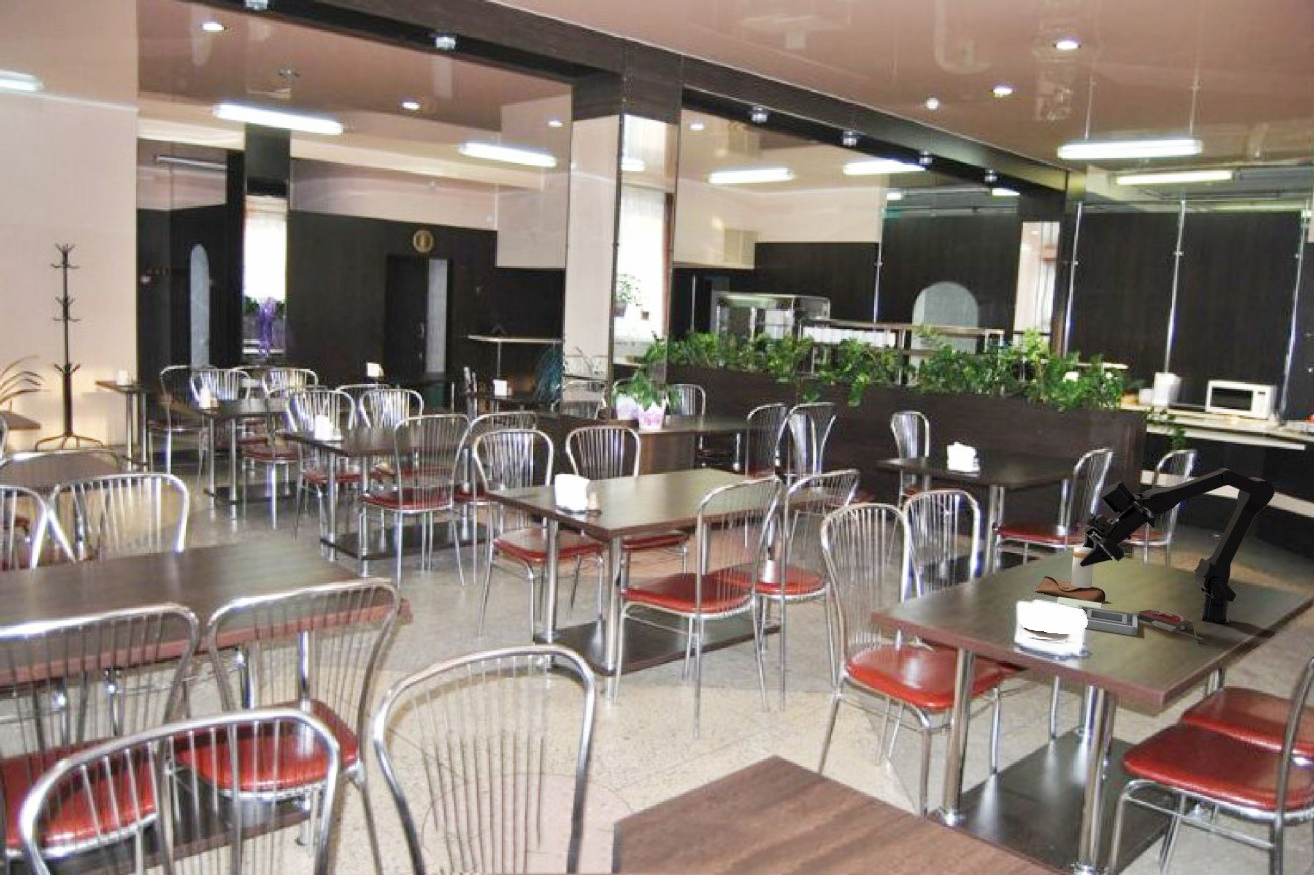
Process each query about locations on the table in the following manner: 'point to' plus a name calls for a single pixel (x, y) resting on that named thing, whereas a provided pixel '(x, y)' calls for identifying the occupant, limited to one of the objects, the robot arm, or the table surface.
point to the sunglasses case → (1069, 590)
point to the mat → (1077, 602)
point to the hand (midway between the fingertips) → (1077, 562)
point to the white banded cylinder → (1081, 568)
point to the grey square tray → (1111, 620)
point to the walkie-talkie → (1168, 621)
